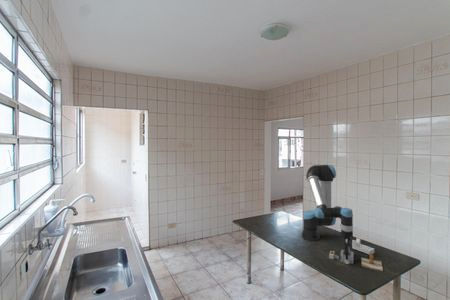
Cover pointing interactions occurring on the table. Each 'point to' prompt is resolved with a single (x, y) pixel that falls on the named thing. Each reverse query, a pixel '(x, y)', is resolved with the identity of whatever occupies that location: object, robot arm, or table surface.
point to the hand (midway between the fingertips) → (347, 259)
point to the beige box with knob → (331, 254)
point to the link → (349, 256)
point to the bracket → (361, 247)
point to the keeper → (371, 263)
